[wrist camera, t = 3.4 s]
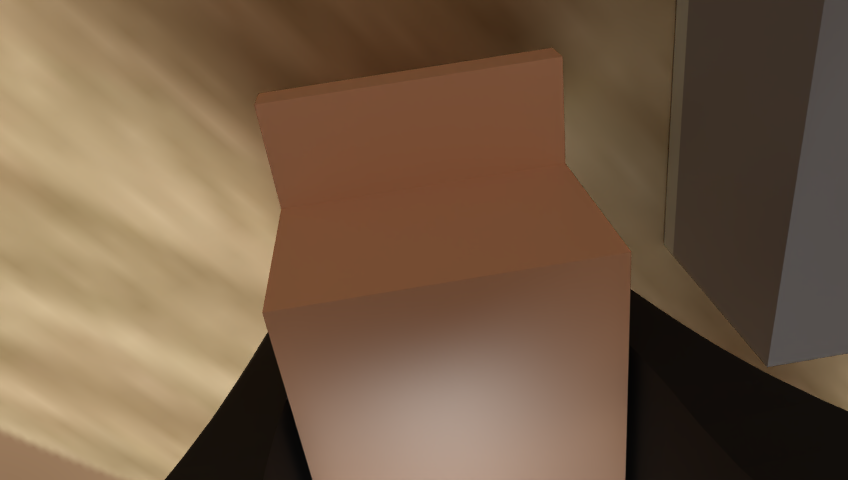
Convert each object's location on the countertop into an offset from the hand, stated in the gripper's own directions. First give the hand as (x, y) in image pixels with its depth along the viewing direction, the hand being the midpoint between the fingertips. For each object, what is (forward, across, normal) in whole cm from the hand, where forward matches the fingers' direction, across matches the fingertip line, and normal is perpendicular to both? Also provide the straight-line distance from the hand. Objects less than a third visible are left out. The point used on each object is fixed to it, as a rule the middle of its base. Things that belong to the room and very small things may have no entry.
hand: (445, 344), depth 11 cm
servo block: (+4, 0, 0) cm, 4 cm away
